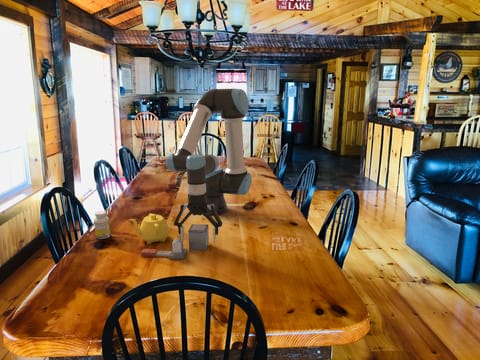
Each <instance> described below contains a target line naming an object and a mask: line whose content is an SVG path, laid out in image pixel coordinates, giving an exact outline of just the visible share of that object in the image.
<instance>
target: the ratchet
mask: <svg viewBox="0 0 480 360" xmlns="http://www.w3.org/2000/svg"><path fill="white" fill-rule="evenodd" d="M171 245H172V250H170V251H169V250H158V248H142V250H141V251H140V257H150V258H151V257H168V260H182V261H183V260H185V258H186V257H187V254H188V251H189V247H188V248H187V247H186V248H184V241H183V239H181V238H174V239H173V241H172V244H171Z"/></svg>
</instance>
